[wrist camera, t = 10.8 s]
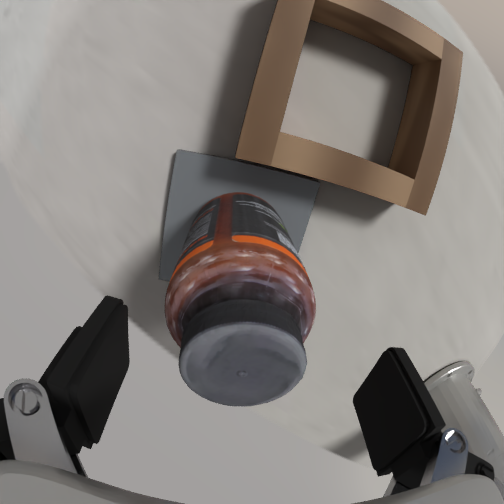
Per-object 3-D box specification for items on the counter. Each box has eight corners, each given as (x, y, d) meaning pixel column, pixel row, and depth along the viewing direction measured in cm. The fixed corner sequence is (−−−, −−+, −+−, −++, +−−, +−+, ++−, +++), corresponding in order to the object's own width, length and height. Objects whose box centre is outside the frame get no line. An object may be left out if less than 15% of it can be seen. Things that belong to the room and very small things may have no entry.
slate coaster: (317, 181, 18) (320, 182, 17) (280, 297, 21) (281, 302, 21) (179, 149, 16) (177, 150, 16) (160, 274, 20) (158, 278, 19)
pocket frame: (433, 58, 13) (462, 52, 10) (399, 200, 18) (425, 215, 15) (280, -10, 12) (289, -34, 9) (235, 152, 17) (235, 157, 13)
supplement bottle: (185, 265, 19) (143, 406, 9) (201, 180, 17) (144, 269, 6) (269, 282, 20) (297, 425, 10) (295, 202, 17) (370, 311, 7)
